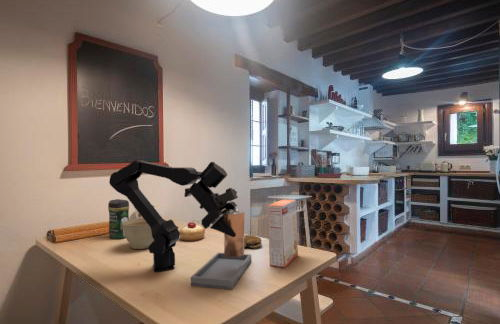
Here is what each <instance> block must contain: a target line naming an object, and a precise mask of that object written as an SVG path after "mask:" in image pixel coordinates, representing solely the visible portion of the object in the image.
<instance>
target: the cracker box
mask: <svg viewBox="0 0 500 324" xmlns="http://www.w3.org/2000/svg"><path fill="white" fill-rule="evenodd" d="M297 217H298V216H297V199H285V198H284V199H281V200H278V201H276V202H273V203H270V204H268V205H267V220H268V221H267V223H268V225H267V227H268V251H269V266H271V267H277V268H286V267H287V266H288V265H289V264H290V263H291V262H292V261H294V259H295V258H296V257H297V256H298V255H299V251H298V250H299V247H298V221H297Z"/></svg>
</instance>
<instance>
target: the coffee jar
mask: <svg viewBox="0 0 500 324" xmlns="http://www.w3.org/2000/svg"><path fill="white" fill-rule="evenodd" d="M107 206H108V207H107V209H108V215H109V216H108V217H109V219H108V222H109V223H108V237H109V238H112V239H114V240H119V239H120V240H121V239H126V237H125V235H124V231H123V225H122V223H123V222H125V221H128V220H130V218H129V217H130V216H129V213H130V212H129V211H130V201H129V200H128V199H120V198H117V199H111V200H109V201H108V205H107Z"/></svg>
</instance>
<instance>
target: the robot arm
mask: <svg viewBox="0 0 500 324" xmlns="http://www.w3.org/2000/svg"><path fill="white" fill-rule="evenodd" d="M143 174H148V175H150V176H155V177H159V178H165V179H168V180H169V181H171V182H173V183H175V184H177V185H180V186H189V185H190V187H187V188H184V197H185V198H188V197H191V196H192V197H193V198H194V199H195V200H196V202H197V203H199V205H200V206H199V209H200V210H202V209H203V210H204V211H205V212H206V213H207V214H206V215H205V216H204V217H203V218H202V219H201V226H202V227H204V228H205V230H207V229H209V228H210V229H211V230H212V229H213V230H215V231H217V232H220V233H222V234H224V233H225V234H227V235H229V236H231V237H235V236H236V234H235V232H234V231H233V229H232V228H231V226H230V225H229V223H228V222H227V220H226V213H225V212H226V211H229V210H235V209H237V207H238V205H237V204H236V202H235V201H234V200H236V199H238V198H239V196H238V191H237V190H235V188H232V187H229V188H227V189H225V192H224V193H222V194H219V193H217V192H213V190H212V188H215V189H216V188H217V187H218V186H219V185H220V184H221V182H223V181H224V180H225V179H226V178H227V176H228V173H227V172H226V170H225V169H224V167H221V166H220V165H219V164H217V163H215V161H210V162H209V164H208V165H207V166H206V167H205V169H203V170H202V171H197V169H196V168H194V167H187V166H186V167H184V166H183V167H180V166H179V167H172V166H167V165H163V164H158V163H154V162H149V161H145V160H143V159H142V160H138V159H137V160H136V159H135V160H133V161H132V162H131V163H129V164H128V165H126V166H124V167H122V168H120V169H119V170H118V171H115V172H112V173H111V175H110V177H109V181H108V182H109V185H110V187H111V188H113V189H114V190H115V191H116V192H118V193H119V194H120V195H122V196H125V197H126V198H127V200H128V202H129V203H131V204H132V206H133V207H134V208H135V210H137V212H138V213H139V214H140V216H141V217H142V218H144V220H145V221H146V222H147V224H148V225H149V226H150V228H151V232H152V237H153V239H154V241H153V242H152V243H151V244H150V246H149V247H148V248H147V249H148V251H149V254H152V256H153V257H152V262H153V264H152V268H153V272H154V273H158V272H162V271H163V272H164V271H168V270H173V269H175V265H176V255H175V254H176V253H175V251H174V247H176V245H177V242H178V241H179V239H180V238H181V237H180V229H179V226H177V225H176V224H175V222H174V220H172V219H169V220H166V219H164V218H163V217H162V215H161V214H159V212H158V211H157V209H156V208H155V207H154V206H153V204H152V203H151V202H150V201H149V200H148V198H147V197H146V195H144V193H143V192H142V190H141V189H140V188H139V187H140V186H139V181H138V179H139V178H140V177H141V176H142V175H143ZM224 213H225V214H224Z"/></svg>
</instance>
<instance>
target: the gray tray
mask: <svg viewBox="0 0 500 324" xmlns="http://www.w3.org/2000/svg"><path fill="white" fill-rule="evenodd" d="M251 263H252V254H247V253H244V255H242V256H240V257H228V256H225V255H224V252H217V253H215V254H214V255H213V256H212V257H211V258H210V259H209V260H208V261H206V262H205V264H204V265H202V266H201V267H200V268H199V269H197V270H196V272H194V274H192V275H191V276H190V286H191V287H200V288H213V289H222V290H231V291H232V290H233V289H234V288H235V286H236V285H237V283H238V282H239V280H240V279H241V278H242V276H243V275H244V273H245V272H246V270H247V269H248V267H249V266H250V264H251Z"/></svg>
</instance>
